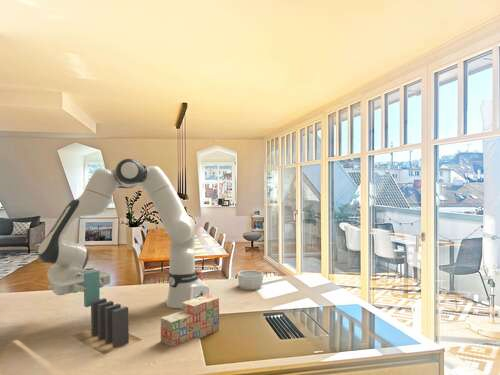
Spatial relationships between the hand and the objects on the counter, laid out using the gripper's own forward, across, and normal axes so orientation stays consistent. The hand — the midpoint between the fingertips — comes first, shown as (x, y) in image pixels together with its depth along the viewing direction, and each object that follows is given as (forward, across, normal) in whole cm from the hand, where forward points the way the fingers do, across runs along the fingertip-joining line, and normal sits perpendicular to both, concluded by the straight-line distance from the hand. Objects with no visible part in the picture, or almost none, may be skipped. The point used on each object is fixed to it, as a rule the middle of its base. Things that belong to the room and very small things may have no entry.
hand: (93, 287), depth 139 cm
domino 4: (+13, 0, +16) cm, 20 cm away
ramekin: (+6, +81, +17) cm, 83 cm away
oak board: (+8, 0, +17) cm, 19 cm away
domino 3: (+8, 0, +16) cm, 18 cm away
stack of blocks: (+29, +21, +17) cm, 39 cm away
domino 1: (-1, 0, +7) cm, 7 cm away
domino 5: (+17, 0, +16) cm, 23 cm away
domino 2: (+4, 0, +16) cm, 16 cm away
